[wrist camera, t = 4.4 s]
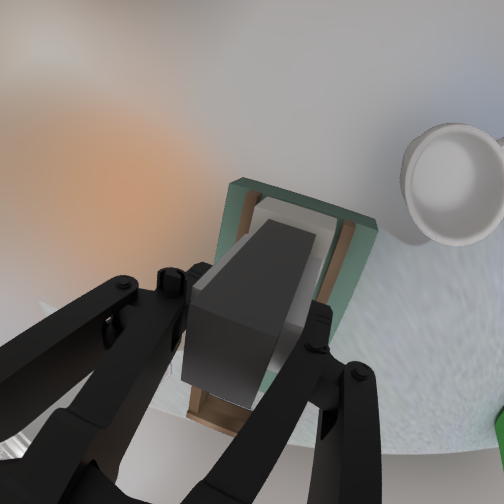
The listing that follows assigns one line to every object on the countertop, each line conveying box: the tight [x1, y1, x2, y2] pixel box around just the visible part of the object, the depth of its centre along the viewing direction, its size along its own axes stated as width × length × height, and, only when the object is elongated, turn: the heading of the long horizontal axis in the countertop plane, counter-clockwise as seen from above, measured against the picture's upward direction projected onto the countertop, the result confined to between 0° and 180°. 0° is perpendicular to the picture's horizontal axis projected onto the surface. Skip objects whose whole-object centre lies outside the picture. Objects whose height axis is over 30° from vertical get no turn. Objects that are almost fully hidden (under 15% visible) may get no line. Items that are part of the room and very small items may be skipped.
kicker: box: [181, 196, 337, 409], centre depth 16 cm, size 5×6×13 cm
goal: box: [186, 385, 252, 438], centre depth 32 cm, size 11×9×4 cm
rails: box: [235, 190, 356, 304], centre depth 24 cm, size 8×17×1 cm, turn 167°
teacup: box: [400, 123, 504, 246], centre depth 17 cm, size 10×8×5 cm
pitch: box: [214, 177, 378, 393], centre depth 26 cm, size 11×19×3 cm, turn 167°
